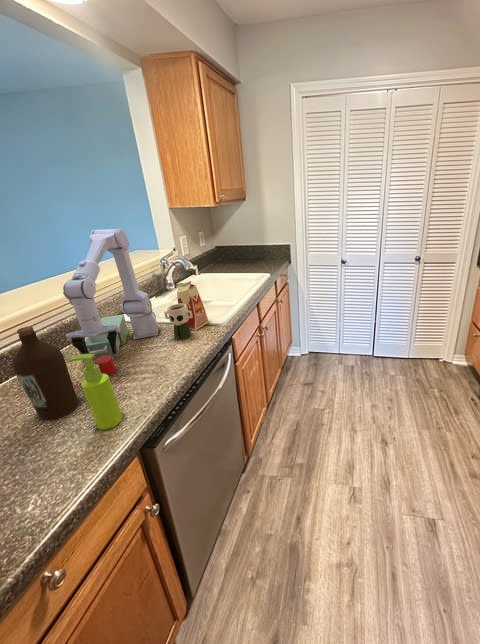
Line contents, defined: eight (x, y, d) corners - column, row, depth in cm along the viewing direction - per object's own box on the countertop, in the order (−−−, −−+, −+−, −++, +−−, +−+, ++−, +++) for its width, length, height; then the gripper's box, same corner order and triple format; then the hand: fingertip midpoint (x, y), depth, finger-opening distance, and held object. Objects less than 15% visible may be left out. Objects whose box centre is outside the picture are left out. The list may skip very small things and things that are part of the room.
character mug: (166, 341, 127) (159, 310, 122) (173, 333, 134) (166, 303, 129) (193, 340, 127) (187, 309, 122) (199, 332, 133) (193, 303, 128)
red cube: (117, 366, 111) (113, 354, 109) (115, 374, 106) (110, 361, 104) (100, 370, 109) (95, 357, 107) (97, 378, 105) (92, 364, 103)
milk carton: (209, 321, 143) (201, 278, 135) (196, 330, 135) (187, 284, 127) (191, 319, 146) (183, 277, 138) (178, 328, 138) (168, 283, 130)
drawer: (117, 361, 112) (112, 346, 110) (80, 369, 109) (74, 353, 106) (123, 341, 127) (118, 327, 125) (90, 347, 124) (85, 333, 121)
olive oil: (65, 394, 97) (33, 318, 87) (89, 401, 94) (59, 322, 84) (27, 417, 88) (-13, 335, 78) (52, 425, 85) (14, 341, 75)
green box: (124, 344, 126) (119, 326, 123) (88, 351, 122) (81, 333, 119) (128, 331, 138) (123, 314, 135) (95, 336, 134) (89, 319, 131)
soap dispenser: (99, 415, 87) (75, 351, 79) (126, 413, 88) (104, 348, 80) (88, 430, 82) (61, 363, 74) (116, 428, 83) (92, 360, 74)
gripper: (57, 326, 94) (73, 366, 100) (113, 317, 99) (124, 356, 104) (64, 317, 100) (78, 356, 106) (116, 309, 105) (127, 346, 110)
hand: (101, 355), depth 105 cm, fingers open, 7 cm apart
